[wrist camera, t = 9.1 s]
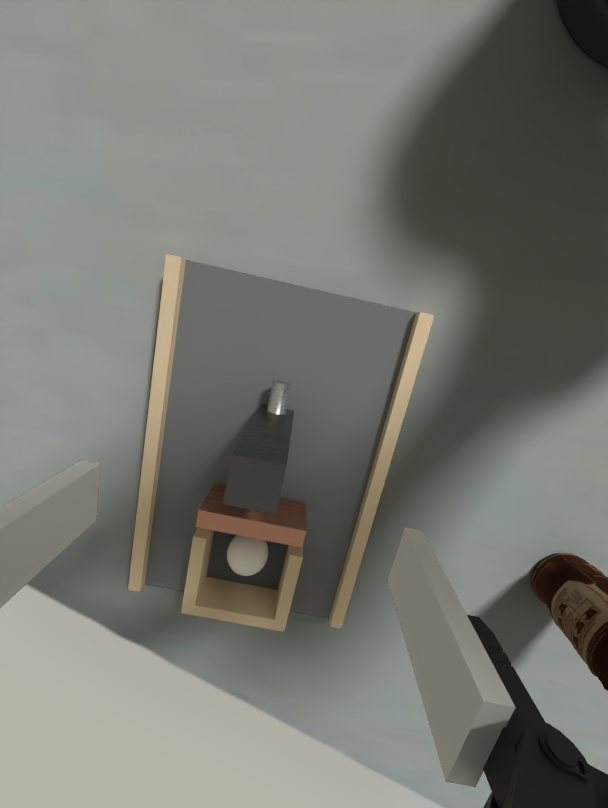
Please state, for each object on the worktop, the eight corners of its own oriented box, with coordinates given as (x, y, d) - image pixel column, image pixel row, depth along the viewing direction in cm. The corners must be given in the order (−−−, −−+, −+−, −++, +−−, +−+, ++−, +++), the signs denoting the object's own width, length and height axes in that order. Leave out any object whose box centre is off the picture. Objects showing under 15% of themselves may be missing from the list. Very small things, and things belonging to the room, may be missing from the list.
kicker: (232, 369, 28) (181, 397, 17) (333, 391, 29) (352, 433, 17) (208, 510, 32) (151, 617, 20) (300, 528, 32) (297, 644, 20)
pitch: (178, 260, 28) (157, 249, 24) (423, 316, 29) (441, 314, 25) (140, 571, 35) (119, 602, 31) (338, 608, 36) (342, 642, 32)
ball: (219, 581, 31) (229, 551, 34) (261, 589, 31) (266, 558, 35) (225, 545, 29) (235, 519, 33) (269, 554, 30) (273, 526, 34)
